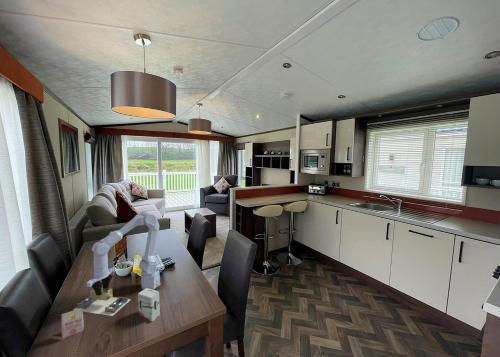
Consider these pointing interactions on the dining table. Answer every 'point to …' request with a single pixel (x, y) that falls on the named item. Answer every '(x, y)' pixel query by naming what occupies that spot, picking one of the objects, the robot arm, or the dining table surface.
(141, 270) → the robot arm
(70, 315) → the tea bag
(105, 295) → the brass block
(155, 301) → the ink box
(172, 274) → the dining table surface
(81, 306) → the chain ends
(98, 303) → the board
